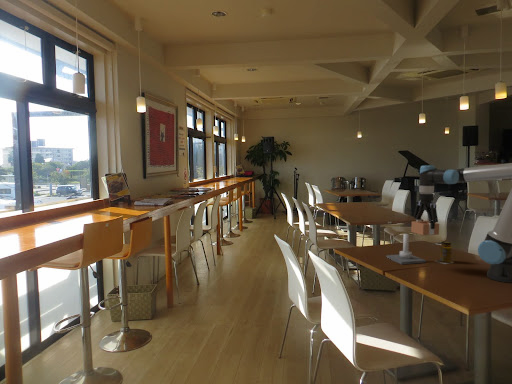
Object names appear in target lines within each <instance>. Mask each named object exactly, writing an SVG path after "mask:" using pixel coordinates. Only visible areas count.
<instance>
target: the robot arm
mask: <svg viewBox="0 0 512 384" xmlns="http://www.w3.org/2000/svg"><path fill="white" fill-rule="evenodd" d="M506 179H511V182H512V162H509V163H500V164H490V165H483V166H482V165H480V166H472V167H471V166H470V167H464V168H463V167H462V168H452V169H451V168H450V169H449V168H448V169H447V168H446V169H443V168H441V169H438V168H436V166H435V165H421V166H420V168H419V186H418V192H419V193H418V200H419V201H416V202H415V209H414V214H413V218H414V219H415V221H422V217H423V214H424V212H426V213H427V216H428V221H430V222H429V235H428V236H435V235H434V229H435V223H438V222H439V219H438V212H437V204H436V203H433V201H434V197H435V194H434V192H435V184H446V185H455V184H457V183H459V184H460V183H466V182H468V183H469V182H482V181H494V180H495V181H496V180H506ZM477 254H478V256H479V257H480V259H481V260H482V261H483V262H485V263H486V264H489V265H490V266H488V267H489V268H488V270H487V272H486V277H487V278H489V279H491V280H492V281H493V280H494V281H497V282H502V283H511V284H512V188H510V191H509V194H508V195H507V198H506V199H505V203H504V204H503V207H502V209H501V211H500V214H499V216H498V218H497V220H496V223H495V225H494V227H493V229H492V230H490V231H488V232H487V233H486V235H485V238H484V239H483V241H481V242H480V243H479V244H478V247H477Z"/></svg>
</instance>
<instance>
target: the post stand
mask: <svg viewBox="0 0 512 384" xmlns="http://www.w3.org/2000/svg"><path fill="white" fill-rule="evenodd" d="M402 237H403V240H402V242H403V243H402V250H399V254H389V255H385V256H386V257H387V258H386V257H385V258H386V259H388V258H389V259H388V260H390V259H391V261H393V262H395V263H397V264H400V265H411V264H415V265H416V264H426V262H427V261H426V259H424V258H422V257H418V256H415V255H413V252H412V251H409V240H410V239H409V237H410V235H409V234H408V233H403V236H402Z"/></svg>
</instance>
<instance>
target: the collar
mask: <svg viewBox="0 0 512 384" xmlns="http://www.w3.org/2000/svg"><path fill="white" fill-rule="evenodd" d="M429 222H430V220H421V221H416V220H414V221H411V233H413V234H414V233H415V234H417V235H421V236H430V235H429ZM439 234H440V223H438V222H436V223H435V229H434V235H433V236H435V235H436V236H437V235H438V236H439Z"/></svg>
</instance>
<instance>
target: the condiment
mask: <svg viewBox="0 0 512 384" xmlns="http://www.w3.org/2000/svg"><path fill="white" fill-rule="evenodd" d="M439 249H440V250H439V251H440V252H439V259H438V260H435V262H437V263H440V264H443V265H447V264H453V263H455V262H454V261H452V249H453V248H452V242H451V241H447V240H445V241H441V244H440V248H439Z"/></svg>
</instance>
